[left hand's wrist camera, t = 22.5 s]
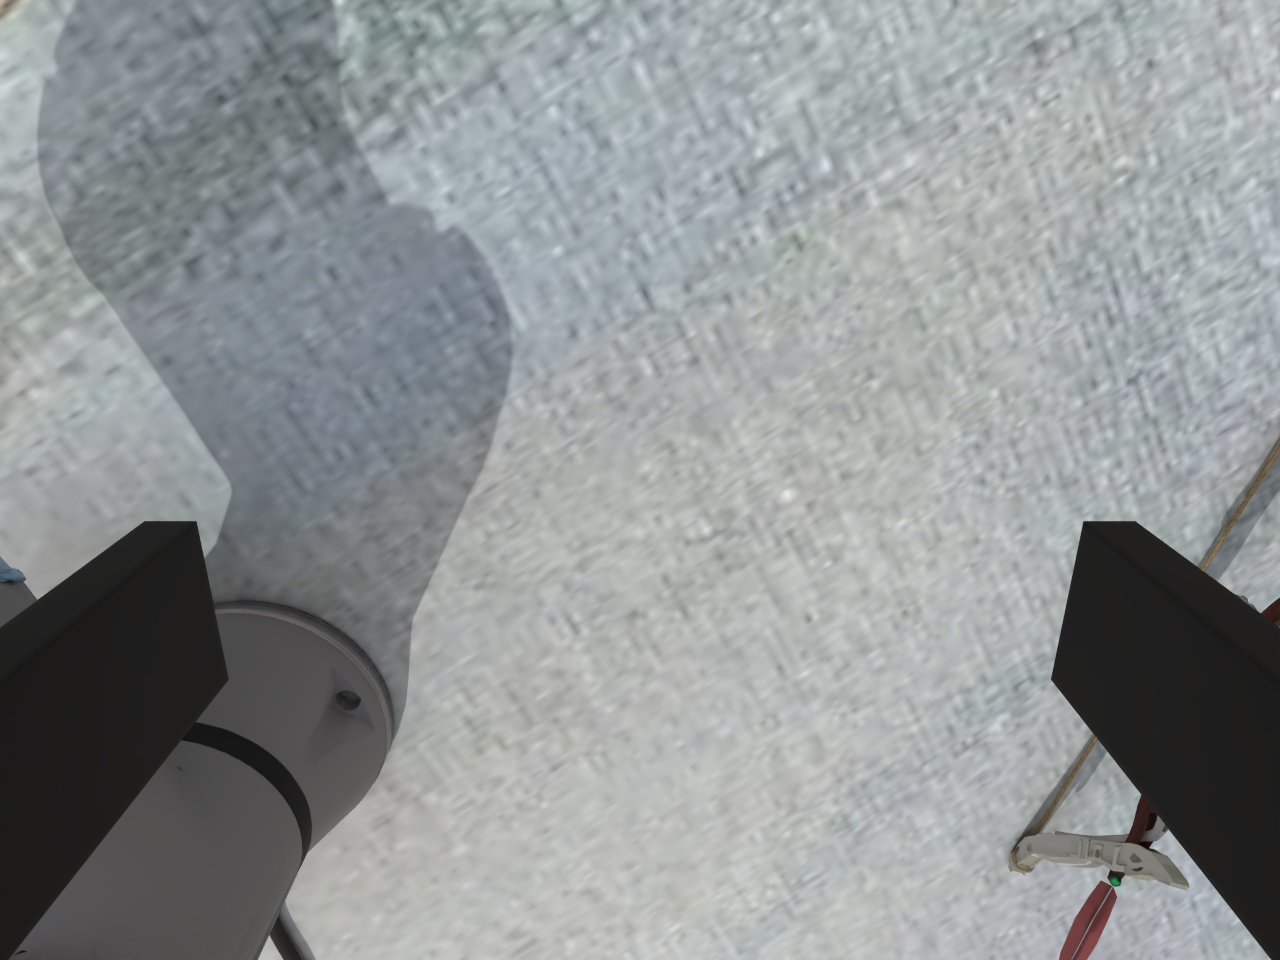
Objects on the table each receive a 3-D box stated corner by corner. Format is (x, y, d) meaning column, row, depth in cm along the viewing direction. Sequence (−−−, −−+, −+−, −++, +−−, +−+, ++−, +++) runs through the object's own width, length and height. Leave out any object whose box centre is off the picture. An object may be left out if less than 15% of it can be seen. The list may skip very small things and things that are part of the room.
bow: (1330, 331, 42) (1524, 381, 33) (1361, 342, 43) (1563, 394, 33) (985, 885, 56) (1054, 1033, 46) (1010, 892, 56) (1084, 1040, 46)
